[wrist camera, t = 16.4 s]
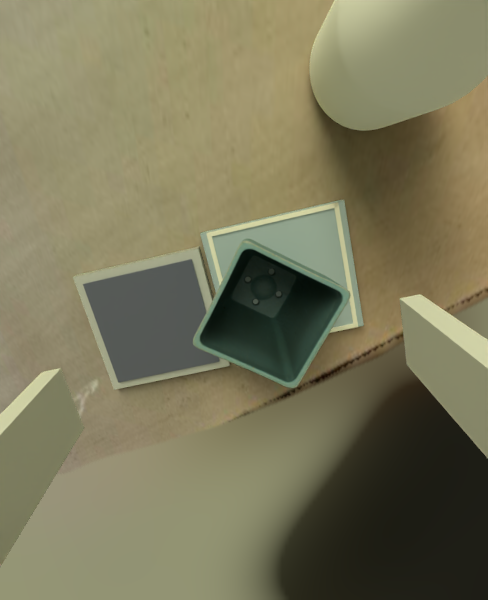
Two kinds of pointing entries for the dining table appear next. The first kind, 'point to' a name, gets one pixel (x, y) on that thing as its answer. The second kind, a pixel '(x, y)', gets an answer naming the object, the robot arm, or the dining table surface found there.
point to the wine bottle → (397, 58)
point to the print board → (296, 249)
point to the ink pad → (149, 317)
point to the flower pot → (270, 314)
